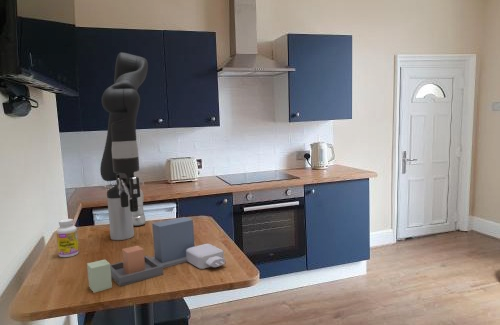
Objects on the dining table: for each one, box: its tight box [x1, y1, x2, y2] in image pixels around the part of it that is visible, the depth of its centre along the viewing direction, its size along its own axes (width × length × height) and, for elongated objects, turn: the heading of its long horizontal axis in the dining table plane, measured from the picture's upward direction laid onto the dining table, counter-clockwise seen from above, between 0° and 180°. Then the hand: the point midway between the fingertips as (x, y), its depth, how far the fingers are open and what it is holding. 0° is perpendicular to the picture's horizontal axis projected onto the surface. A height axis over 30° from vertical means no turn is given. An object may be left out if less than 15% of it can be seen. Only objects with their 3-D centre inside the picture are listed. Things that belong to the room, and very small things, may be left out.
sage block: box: [86, 258, 113, 294], centre depth 106 cm, size 5×5×7 cm
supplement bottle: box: [56, 218, 79, 258], centre depth 136 cm, size 7×7×13 cm
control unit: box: [150, 216, 196, 269], centre depth 126 cm, size 10×14×13 cm
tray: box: [110, 255, 164, 288], centre depth 116 cm, size 13×13×2 cm
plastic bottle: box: [132, 182, 146, 227], centre depth 173 cm, size 6×7×20 cm
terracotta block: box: [121, 245, 145, 274], centre depth 115 cm, size 5×5×7 cm
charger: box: [186, 243, 227, 270], centre depth 120 cm, size 5×9×15 cm
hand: (129, 209), depth 114 cm, fingers open, 8 cm apart
